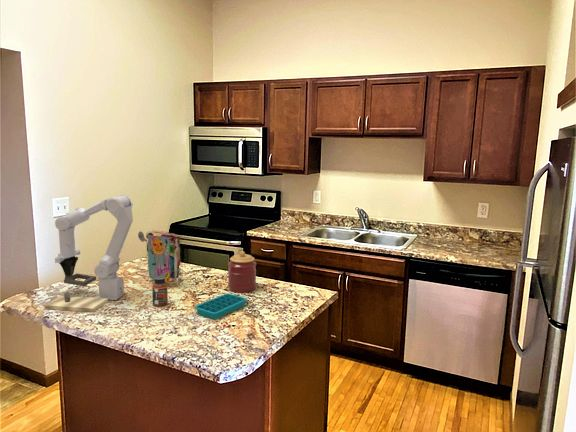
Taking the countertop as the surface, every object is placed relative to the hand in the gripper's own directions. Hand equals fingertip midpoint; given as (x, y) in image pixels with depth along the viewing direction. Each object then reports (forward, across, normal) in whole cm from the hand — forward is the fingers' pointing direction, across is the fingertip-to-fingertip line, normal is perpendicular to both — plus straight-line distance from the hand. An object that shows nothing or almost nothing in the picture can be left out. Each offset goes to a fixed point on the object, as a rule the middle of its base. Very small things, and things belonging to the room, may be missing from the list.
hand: (69, 274), depth 180 cm
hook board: (+9, +12, +10) cm, 18 cm away
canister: (+9, -20, +71) cm, 75 cm away
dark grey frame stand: (+3, 0, +5) cm, 6 cm away
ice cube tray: (+10, +6, +68) cm, 69 cm away
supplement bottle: (+9, +5, +42) cm, 43 cm away
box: (+9, -22, +30) cm, 38 cm away
